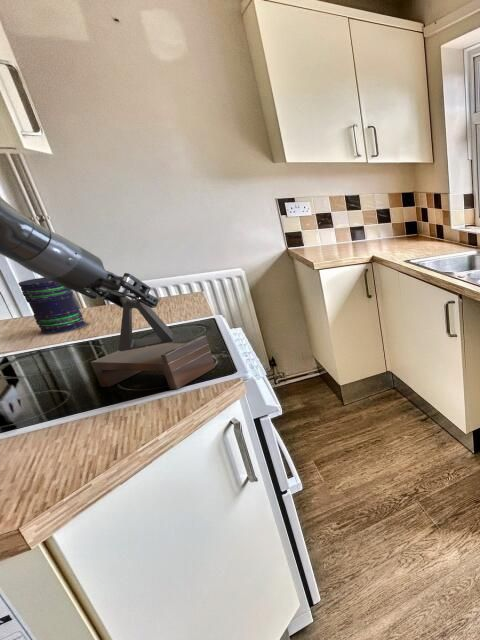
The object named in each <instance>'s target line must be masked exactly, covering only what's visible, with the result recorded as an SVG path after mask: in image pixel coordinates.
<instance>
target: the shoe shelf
mask: <svg viewBox="0 0 480 640" xmlns="http://www.w3.org/2000/svg"><path fill="white" fill-rule="evenodd" d="M90 365H91V367H92V369H93V372H94V374H95V375H96V379H97V380H98V383H99V386H100V387H101V388H110V387H112V386H114V385H116V384H119V383H121V382H122V381H124V380H127V379H129V378H131V377H133V376H134V375H137V374H139V373H141V372H163V375H164V377H165V379H166V382H167V386H168V388H169V389H170V390H179V389H180V388H182V387H184V386H186V385H187V384H189V383H191V382H192V381H194V380H196V379H198V378H200V377H201V376H203V375H205V374H207V373H208V372H210V371H212V370H213V369H215V368H216V363H215V360H214V357H213V354H212V351H211V347H210V345H209V341H208V338H207V336H206V335H201V336H198V337H197V338H194V339H192V340H190V341H187V342H185V343H183V342H182V343H181V342H180V343H178V342H169V343H163V344H158V345H153V346H146V347H142V348H137V349H132V350H127V351H119V350H116V351H113V352H112V353H109V354H106V355H105V356H102V357H99V358H97V359H95V360H92V361H90Z"/></svg>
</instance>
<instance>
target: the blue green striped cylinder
mask: <svg viewBox="0 0 480 640" xmlns="http://www.w3.org/2000/svg"><path fill="white" fill-rule="evenodd" d="M17 285H18V286H19V287H20V290H21V292H22V296H23V297H24V299H25V301H26V303H28V304H29V306H30V308H31V310H32V313H33V317H34V320H35V323H36V325H37V326H38V328H39V329H40V333H41V334H44V335H50V334H51V335H52V334H53V335H54V334H60V333H66V332H70V331H75V330H78V329H81V328H83V327H85V326H86V322H85V320H84V316H83V313H82V312H81V310H80V307H79V306H78V305H77V303H76V301H75V298H74V294H73V290H71V289H67V288H65V287H63V286H61V285H59V284H57V283H55V282H53V281H51V280H49V279H47V278H45V277H37V278H33V279H32V278H31V279H27V280H23V281H19V282H18V283H17Z"/></svg>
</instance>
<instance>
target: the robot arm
mask: <svg viewBox="0 0 480 640" xmlns="http://www.w3.org/2000/svg"><path fill="white" fill-rule="evenodd" d="M0 255H1V256H4V257H5V258H7V259H9V260H11V261H13V262H15V263H17V264H19V265H20V266H22V268H23V267H24V268H25V269H27V270H29V271H30V272H33V273H35V274H37V275H39V276H40V277H42V278H44V277H45V278H47V279H49V280H51V281H53V282H55V283H57V284H59V285H61V286H63V287H65V288H67V289H71V291H74V292H76V293H78V294H81V295H82V296H85V297H87V298H90V299H92V300H93V299H94V300H96V299H97V298H98V299H100V300H101V301H108V302H110V303H112V304H114V305H116V306H117V307H120V308H122V309H123V305H122V303H121V302H120V299H119V298H120V297H125V296H126V297H127V298H128V299H133V300H135V299H136V300H138V301H140V302H141V303H143V304H145V305H147V306H149V307H150V308H151V309H155V308H157V306H158V304H159V302H160V300H159V298H157V297H156V296H154V295H152V294H151V293H150V292H151V289H152V287H150V286H149V285H148V284H146V283H145V282H143V281H142V280H140V279H139V278H137V277H135V276H134V275H132V274H131V273H129V272H124V273H123V276H119V275H117V274H116V273H115V272H113V271H110V270H106V268H105V267H104V263H103V261H102V259H101V258H100V257H99V256H97V255H95V254H93V253H92V252H90V251H89V250H87V249H85V248H83V247H82V246H80V245H78V244H77V243H74V242H73V241H71V240H70V239H68V238H66V237H65V236H63V235H61V234H59V233H56V232H54V231H51V230H50V229H48V228H46V227H45V226H42V225H41V224H39V223H38V222H36V221H34V220H33V219H31V218H29V217H27V216H25V215H24V214H22V213H21V212H19V210H17V209H16V208H15V207H13V206H12V205H11V204H9V203H8V202H7V201H6V200H5V199H4V198H2V196H0ZM121 288H122V291H120V290H121ZM130 292H132V293H133V294H132V293H130ZM134 294H135V295H134Z"/></svg>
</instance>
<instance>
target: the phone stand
mask: <svg viewBox="0 0 480 640" xmlns="http://www.w3.org/2000/svg"><path fill="white" fill-rule="evenodd" d="M129 292H130V291H129ZM130 293H131V294H133V293H132V292H130ZM134 295H135V294H134ZM128 298H129V297H127V296H125V297H120V298H119V299H120V302H121V303H122V305H123V308H122V315H121V325H120V332H119V333H120V335H119V342H118V351H127V350H132V349H137V348H142V347H146V346H153V345H158V344H163V343H173V340H174V333H173V331H172V330H171V329H170V328H169V326H168V325H167V324H166V323H165V322H164V321H163V320H162V318H161V317H160V316H159V315H158V314H157V313H156V312H155V310H153V308H151V307H149V306H147V305H145V304H143V303H141V302H140V301H138V300H136V299H133V298H129V299H128ZM133 309H136V310H138V312H139V313H140V315H141V316H142V317H143V318H144V320H145V321H146V322H147V324H148V325H149V326H150V328H151V329H152V330H153V332H154V333H155V335H153V336H148V337H142V338H136V339H134V338H133Z"/></svg>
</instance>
